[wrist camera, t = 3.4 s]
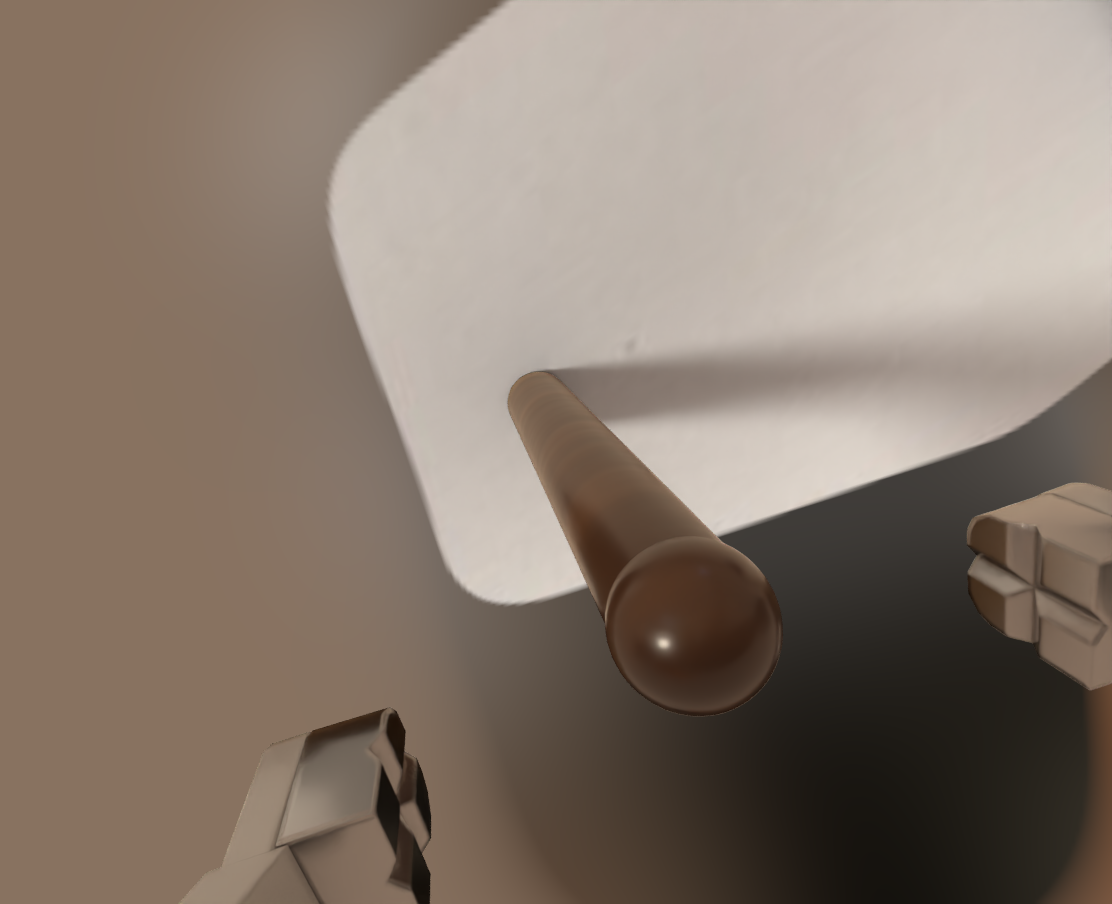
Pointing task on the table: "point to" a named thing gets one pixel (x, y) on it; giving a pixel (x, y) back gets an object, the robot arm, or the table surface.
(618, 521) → the stick
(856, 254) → the table surface
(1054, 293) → the table surface
